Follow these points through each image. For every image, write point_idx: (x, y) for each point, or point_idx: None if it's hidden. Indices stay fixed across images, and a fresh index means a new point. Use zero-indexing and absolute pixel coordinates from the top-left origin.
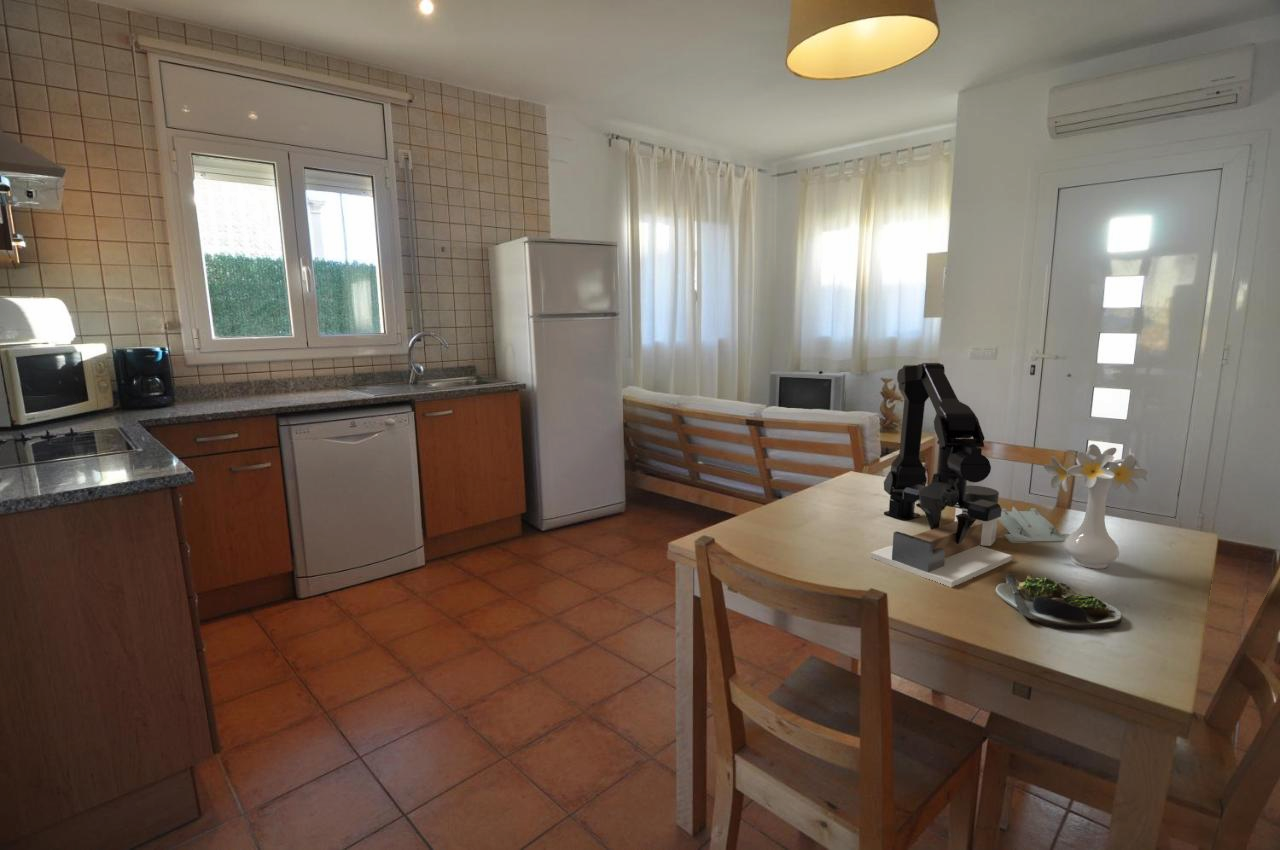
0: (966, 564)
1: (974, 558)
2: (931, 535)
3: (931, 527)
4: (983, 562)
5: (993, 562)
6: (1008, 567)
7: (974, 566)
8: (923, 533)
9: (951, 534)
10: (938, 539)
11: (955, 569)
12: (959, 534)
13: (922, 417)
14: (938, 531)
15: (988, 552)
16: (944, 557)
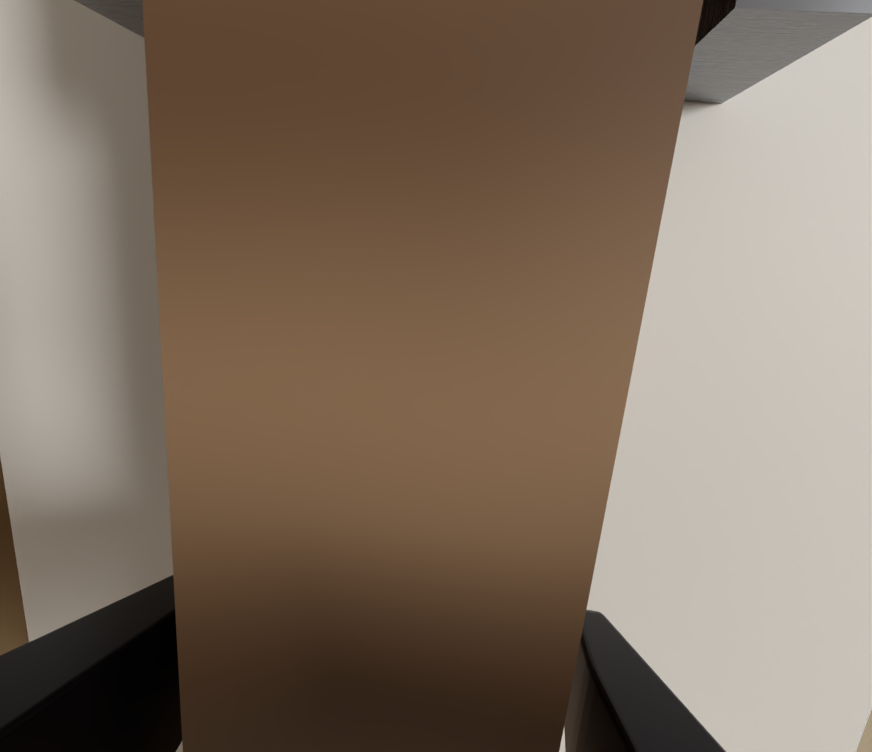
0: (114, 331)
1: (164, 541)
2: (387, 144)
3: (667, 719)
4: (66, 503)
5: (24, 562)
6: (23, 624)
7: (42, 337)
8: (613, 120)
9: (174, 570)
10: (155, 44)
11: (87, 82)
12: (63, 640)
13: None
14: (423, 552)
15: (179, 749)
16: (143, 31)
